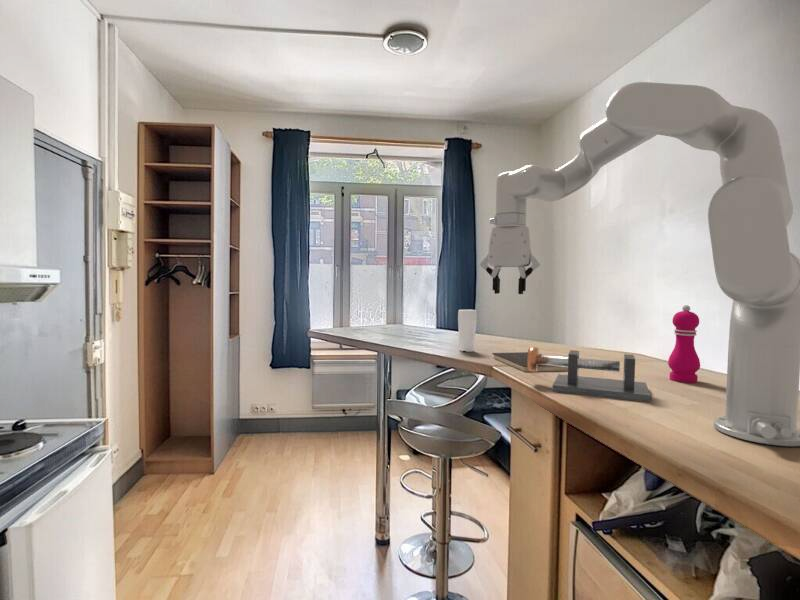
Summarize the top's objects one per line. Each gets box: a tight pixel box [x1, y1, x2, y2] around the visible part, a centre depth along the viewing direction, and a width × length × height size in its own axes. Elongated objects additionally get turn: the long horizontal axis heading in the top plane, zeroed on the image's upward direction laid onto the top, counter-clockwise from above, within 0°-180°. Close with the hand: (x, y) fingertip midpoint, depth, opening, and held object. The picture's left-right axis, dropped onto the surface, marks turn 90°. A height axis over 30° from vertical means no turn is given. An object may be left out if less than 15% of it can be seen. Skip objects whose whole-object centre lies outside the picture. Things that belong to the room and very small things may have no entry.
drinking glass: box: [457, 309, 478, 353], centre depth 164 cm, size 7×7×15 cm
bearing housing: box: [552, 349, 652, 403], centre depth 107 cm, size 20×14×8 cm
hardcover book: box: [492, 351, 568, 373], centre depth 141 cm, size 16×23×2 cm
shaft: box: [527, 346, 621, 373], centre depth 109 cm, size 20×6×6 cm, turn 66°
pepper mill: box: [667, 304, 701, 384], centre depth 119 cm, size 7×7×20 cm
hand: (508, 293), depth 115 cm, fingers open, 5 cm apart
